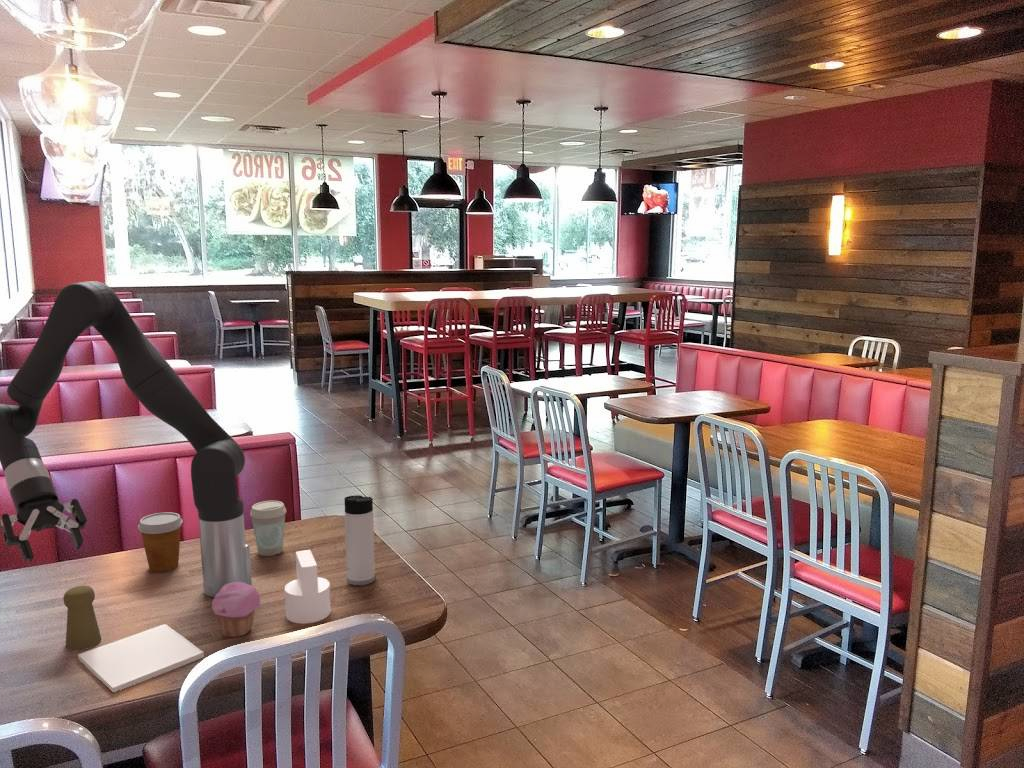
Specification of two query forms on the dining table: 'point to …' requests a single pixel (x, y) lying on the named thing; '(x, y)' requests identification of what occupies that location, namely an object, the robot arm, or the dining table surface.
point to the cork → (81, 618)
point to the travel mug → (359, 540)
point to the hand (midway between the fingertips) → (55, 553)
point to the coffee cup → (268, 526)
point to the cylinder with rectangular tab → (307, 592)
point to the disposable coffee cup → (161, 540)
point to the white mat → (140, 657)
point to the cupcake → (235, 608)
